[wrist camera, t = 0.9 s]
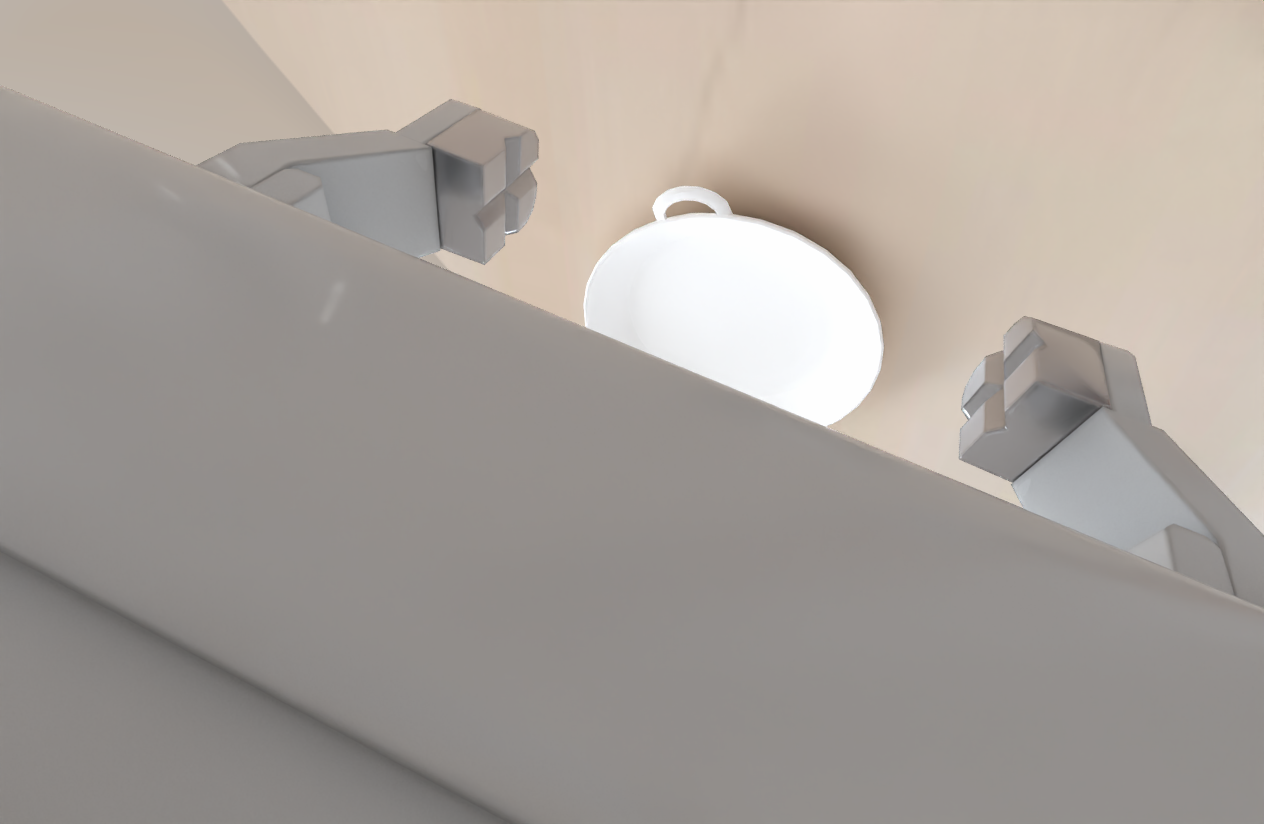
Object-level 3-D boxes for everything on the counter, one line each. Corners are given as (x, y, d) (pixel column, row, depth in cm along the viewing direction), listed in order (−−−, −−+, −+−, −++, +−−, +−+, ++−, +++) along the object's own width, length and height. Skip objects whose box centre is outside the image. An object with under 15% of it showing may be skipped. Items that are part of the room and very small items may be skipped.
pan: (545, 178, 55) (525, 205, 53) (887, 134, 43) (883, 166, 41) (646, 421, 79) (635, 448, 76) (886, 435, 67) (883, 468, 64)
